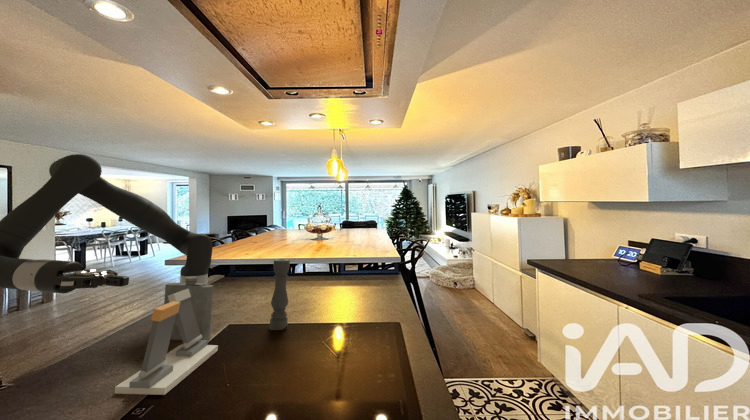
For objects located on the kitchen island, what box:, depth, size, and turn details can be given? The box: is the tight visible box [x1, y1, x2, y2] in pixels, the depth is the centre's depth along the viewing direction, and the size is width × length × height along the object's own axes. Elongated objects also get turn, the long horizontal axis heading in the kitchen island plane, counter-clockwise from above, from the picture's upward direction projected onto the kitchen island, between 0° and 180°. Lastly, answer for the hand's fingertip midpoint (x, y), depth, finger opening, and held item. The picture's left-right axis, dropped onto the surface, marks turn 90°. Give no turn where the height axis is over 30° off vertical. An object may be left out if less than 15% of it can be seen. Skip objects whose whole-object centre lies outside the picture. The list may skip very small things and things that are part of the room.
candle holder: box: [269, 258, 291, 330], centre depth 105 cm, size 6×6×25 cm
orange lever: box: [139, 301, 181, 379], centre depth 67 cm, size 2×6×16 cm, turn 1°
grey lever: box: [168, 289, 202, 349], centre depth 82 cm, size 2×6×16 cm, turn 2°
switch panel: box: [114, 340, 219, 396], centre depth 74 cm, size 11×23×3 cm, turn 1°
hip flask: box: [163, 276, 214, 342], centre depth 93 cm, size 16×4×20 cm, turn 85°
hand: (126, 281), depth 69 cm, fingers closed
